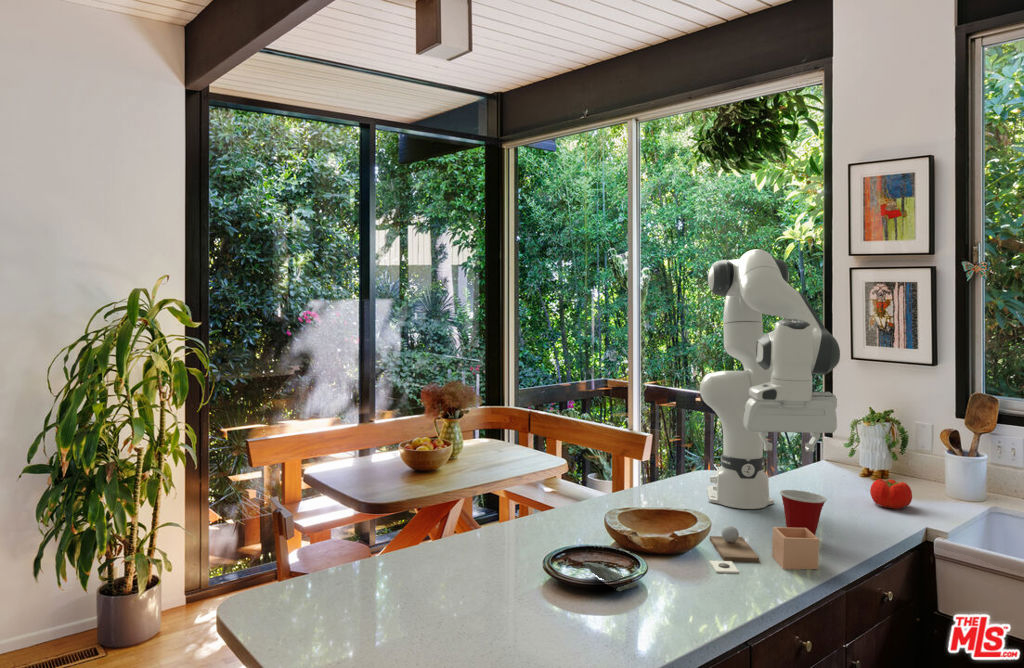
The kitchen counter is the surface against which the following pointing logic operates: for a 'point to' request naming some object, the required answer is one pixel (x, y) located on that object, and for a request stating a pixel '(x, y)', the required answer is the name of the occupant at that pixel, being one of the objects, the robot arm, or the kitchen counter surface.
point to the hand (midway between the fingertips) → (788, 451)
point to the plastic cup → (802, 509)
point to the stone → (607, 574)
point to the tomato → (891, 493)
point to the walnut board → (734, 550)
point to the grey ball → (730, 534)
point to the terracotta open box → (795, 548)
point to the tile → (724, 567)
